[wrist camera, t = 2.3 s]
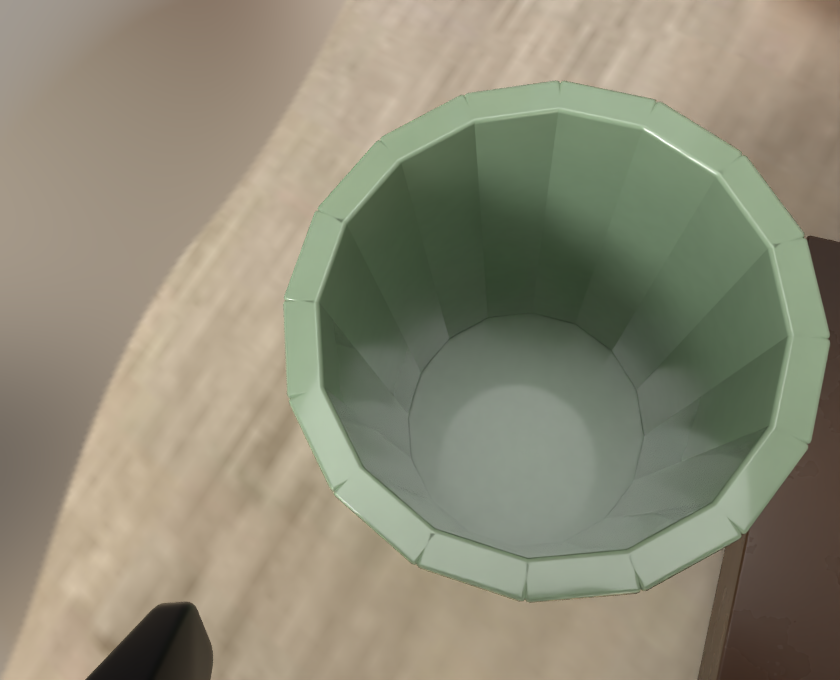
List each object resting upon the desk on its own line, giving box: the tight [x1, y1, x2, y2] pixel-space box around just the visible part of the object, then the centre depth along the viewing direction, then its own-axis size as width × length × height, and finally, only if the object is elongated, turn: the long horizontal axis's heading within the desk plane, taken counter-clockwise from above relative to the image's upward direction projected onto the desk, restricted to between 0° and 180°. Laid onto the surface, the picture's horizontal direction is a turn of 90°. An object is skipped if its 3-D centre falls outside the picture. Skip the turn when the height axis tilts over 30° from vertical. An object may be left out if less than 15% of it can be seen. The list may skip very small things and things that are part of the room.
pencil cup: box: [283, 81, 830, 603], centre depth 15 cm, size 7×7×10 cm
